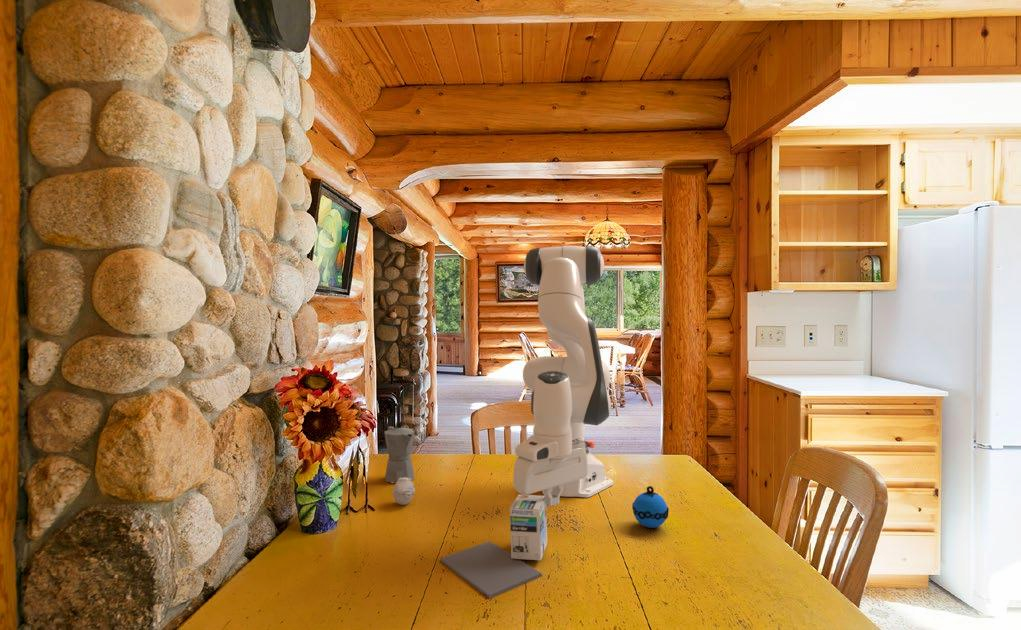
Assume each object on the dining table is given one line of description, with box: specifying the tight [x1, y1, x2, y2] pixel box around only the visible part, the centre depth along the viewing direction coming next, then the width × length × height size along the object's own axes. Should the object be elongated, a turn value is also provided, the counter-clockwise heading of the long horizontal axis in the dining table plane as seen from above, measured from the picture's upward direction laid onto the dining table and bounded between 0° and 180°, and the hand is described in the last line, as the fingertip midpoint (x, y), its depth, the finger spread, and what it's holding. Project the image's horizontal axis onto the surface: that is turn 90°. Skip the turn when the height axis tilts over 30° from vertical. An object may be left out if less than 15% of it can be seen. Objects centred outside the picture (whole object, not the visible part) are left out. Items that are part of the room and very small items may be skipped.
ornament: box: [631, 485, 670, 529], centre depth 130 cm, size 9×9×10 cm
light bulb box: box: [509, 494, 548, 561], centre depth 117 cm, size 11×7×11 cm, turn 169°
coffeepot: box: [383, 421, 415, 483], centre depth 166 cm, size 15×9×18 cm, turn 44°
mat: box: [439, 540, 543, 599], centre depth 110 cm, size 13×18×1 cm
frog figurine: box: [392, 477, 416, 506], centre depth 145 cm, size 6×7×7 cm
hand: (552, 504), depth 121 cm, fingers closed
